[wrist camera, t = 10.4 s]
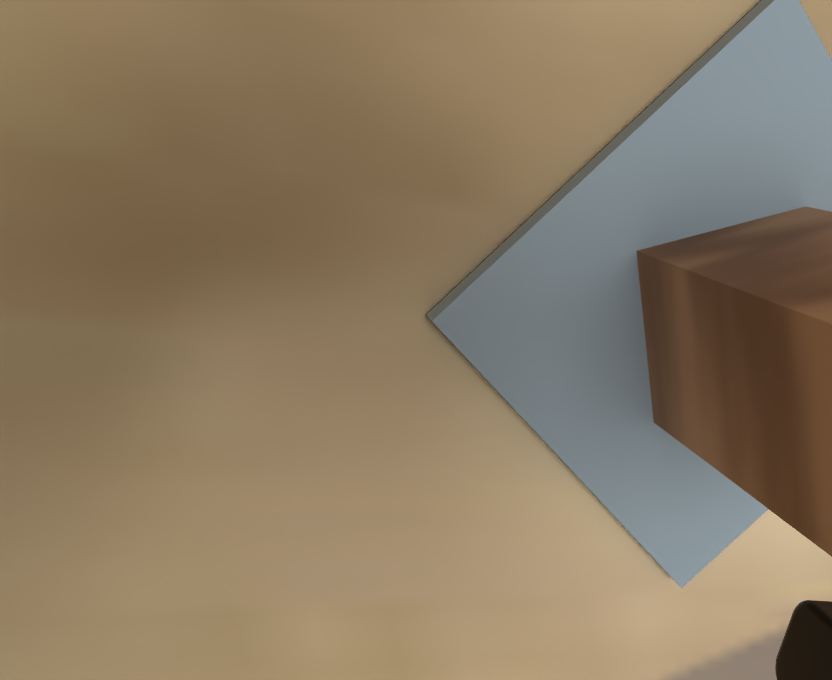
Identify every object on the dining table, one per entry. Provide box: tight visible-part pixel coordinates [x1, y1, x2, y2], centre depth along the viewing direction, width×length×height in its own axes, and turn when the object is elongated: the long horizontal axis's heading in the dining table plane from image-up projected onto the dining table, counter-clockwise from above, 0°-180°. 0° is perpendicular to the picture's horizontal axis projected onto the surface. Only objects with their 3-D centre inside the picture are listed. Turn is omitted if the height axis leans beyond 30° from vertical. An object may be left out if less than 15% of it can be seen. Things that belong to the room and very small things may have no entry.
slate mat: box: [426, 0, 832, 588], centre depth 22 cm, size 12×12×1 cm
